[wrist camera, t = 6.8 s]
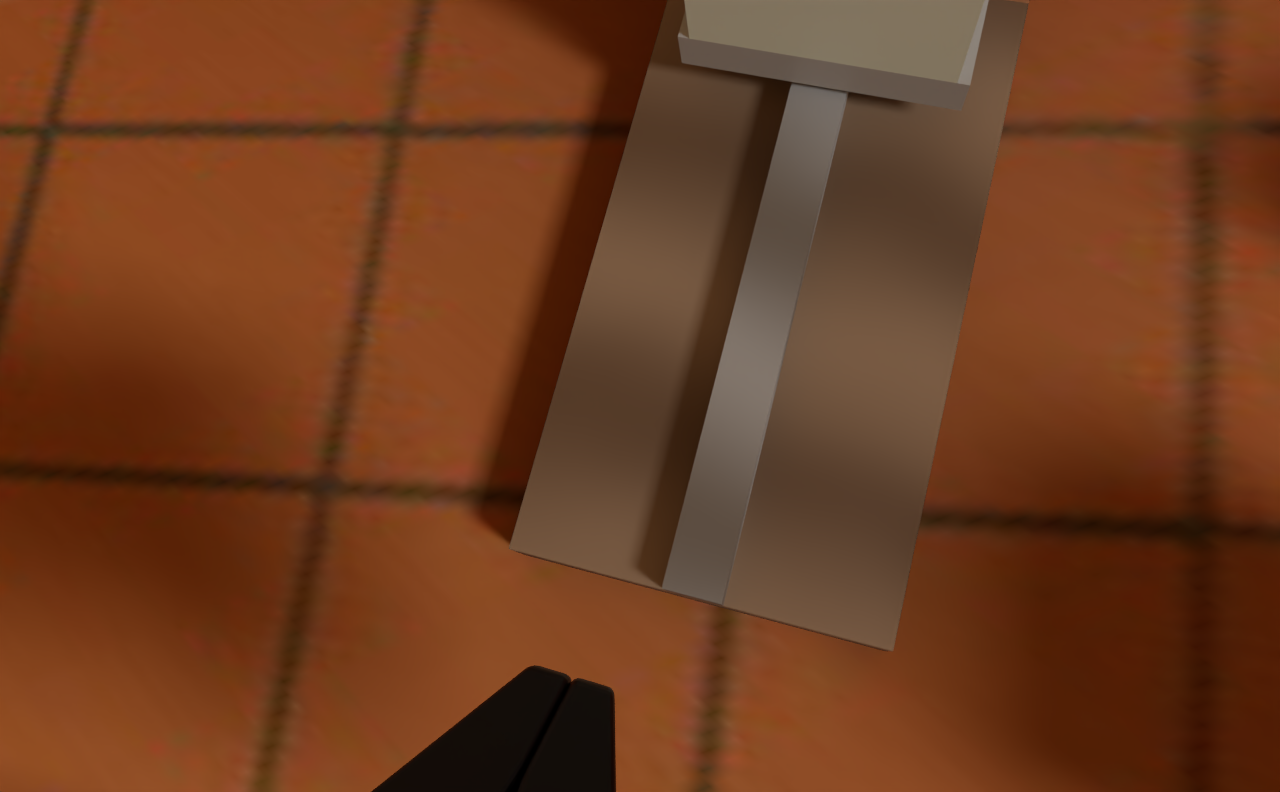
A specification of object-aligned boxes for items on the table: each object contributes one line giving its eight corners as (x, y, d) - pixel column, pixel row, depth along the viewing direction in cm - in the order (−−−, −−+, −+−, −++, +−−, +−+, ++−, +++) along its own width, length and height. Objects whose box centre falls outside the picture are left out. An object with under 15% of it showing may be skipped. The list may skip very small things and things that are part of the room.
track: (885, 651, 21) (954, 652, 13) (525, 554, 23) (388, 503, 15) (1036, -67, 25) (1165, -417, 17) (716, -112, 26) (690, -454, 18)
